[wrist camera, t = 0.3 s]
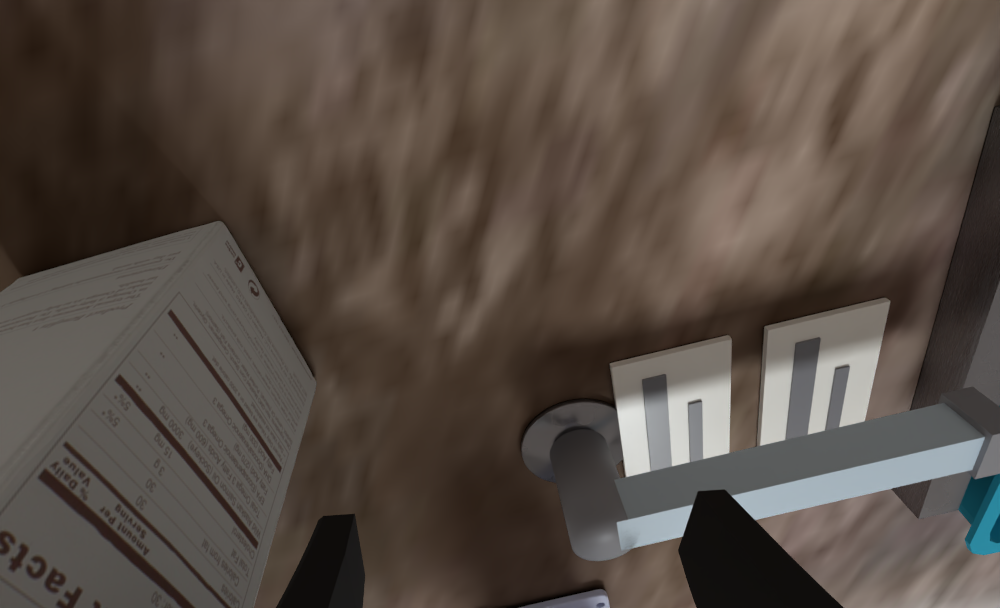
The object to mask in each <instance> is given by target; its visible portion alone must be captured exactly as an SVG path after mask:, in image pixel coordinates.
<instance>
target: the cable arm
mask: <svg viewBox="0 0 1000 608" xmlns="http://www.w3.org/2000/svg"><path fill="white" fill-rule="evenodd" d="M550 459H551V463H552V468H553V472H554V476H555V480H556V484H557V488H558V492H559V497H560V501H561V505H562V509H563V513H564V517H565V521H566V526H567V530H568V534H569V538H570V542H571V546H572V549H573V551H574V553H575V554H576V555H577V556H579V557H580V558H583V559H586V560H590V561H604V560H610V559H613V558H616V557H619V556H621V555H623V554H625V553H627V552H628V551H629V550H631V549H632V548H635V547H640V546H644V545H648V544H653V543H657V542H661V541H666V540H670V539H674V538H679V537H683V534H684V531H685V528H686V525H687V522H688V519H689V516H690V513H691V510H692V507H693V504H694V501H695V498H696V495H697V492H698V491H707V490H722V489H725V490H726V491H727V492H728V493H729V494H730V495H731V496H732V497H733V498H734V499H735V500H736V501H737V502H738V503H739V504H740V505H741V506H742V507H743V508H744V509H745V510H746V511H747V512H748V513H749V514H750V515H751V517H752V518H753V519H754V520H757V519H761V518H766V517H770V516H774V515H779V514H783V513H787V512H792V511H796V510H800V509H805V508H809V507H813V506H818V505H822V504H826V503H831V502H835V501H839V500H844V499H848V498H852V497H857V496H861V495H865V494H870V493H874V492H878V491H883V490H887V489H892V488H896V487H900V486H905V485H909V484H913V483H918V482H922V481H926V480H931V479H935V478H939V477H944V476H948V475H952V474H957V473H961V472H965V471H966V472H968V473H969V474H970V475H971V476H972V477H973V478H974V479H978V478H983V477H987V476H992V475H996V474H1000V407H999V406H998V405H997V404H995V403H994V402H993V401H991V400H990V399H989V398H987V397H986V396H985V395H983V394H982V393H981V392H979V391H978V390H977V389H975V388H974V387H973V386H972V387H968V388H964V389H960V390H955V391H951V392H947V393H942V394H941V398H940V401H939V404H937V405H933V406H928V407H924V408H920V409H915V410H911V411H907V412H903V413H898V414H894V415H890V416H885V417H881V418H877V419H873V420H868V421H864V422H860V423H856V424H851V425H847V426H843V427H838V428H834V429H830V430H826V431H821V432H817V433H813V434H808V435H804V436H800V437H796V438H791V439H787V440H783V441H779V442H774V443H770V444H766V445H761V446H757V447H753V448H749V449H744V450H740V451H736V452H731V453H727V454H723V455H719V456H714V457H710V458H706V459H701V460H697V461H693V462H689V463H684V464H680V465H676V466H672V467H667V468H663V469H659V470H654V471H650V472H646V473H642V474H637V475H633V476H629V477H624V478H620V476H619V474H618V471H617V468H616V466H615V463H614V460H613V458H612V455H611V452H610V450H609V447H608V444H607V442H606V439H605V438H604V437H603V436H602V435H601V434H600V433H598V432H596V431H593V430H586V429H582V430H575V431H571V432H568V433H566V434H564V435H562V436H561V437H560V438H558V439H557V440H556V441H555V442H554V444H553V445H552V447H551V449H550Z"/></svg>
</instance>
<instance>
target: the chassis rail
mask: <svg viewBox="0 0 1000 608" xmlns="http://www.w3.org/2000/svg"><path fill="white" fill-rule="evenodd" d="M972 386H973V387H974V388H975V389H977V390H978V391H979V392H981V393H982V394H983V395H985V396H986V397H987V398H989V399H990V400H991V401H993V402H994V403H995V404H997V405H998V406H1000V106H997V107H995V109H994V112H993V116H992V120H991V123H990V127H989V130H988V134H987V138H986V141H985V145H984V148H983V152H982V156H981V159H980V163H979V166H978V170H977V174H976V177H975V181H974V184H973V188H972V192H971V195H970V199H969V202H968V206H967V210H966V213H965V217H964V220H963V224H962V228H961V231H960V235H959V238H958V242H957V246H956V249H955V253H954V256H953V260H952V264H951V267H950V271H949V274H948V278H947V282H946V285H945V289H944V292H943V296H942V300H941V303H940V307H939V310H938V314H937V318H936V321H935V325H934V328H933V332H932V335H931V339H930V343H929V346H928V350H927V353H926V357H925V361H924V364H923V368H922V371H921V375H920V379H919V382H918V386H917V389H916V393H915V397H914V400H913V404H912V407H911V410H915V409H920V408H924V407H928V406H933V405H937V404H939V401H940V398H941V394H942V393H947V392H951V391H955V390H960V389H964V388H968V387H972ZM970 479H971V475H970V474H969V473H968V472H966V471H965V472H961V473H957V474H952V475H948V476H944V477H939V478H935V479H931V480H926V481H922V482H918V483H913V484H909V485H905V486H900V487H896V488H892V490H893V491H894V493H895V494H896V495H897V496H898V497H899V498H900V499H901V500H902V501H903V503H904V504H905V505H906V506H907V507H908V508H909V509H910V510H911V511H912V513H913V514H914V515H915V516H916V517H917V518H918V519H921V518H926V517H930V516H934V515H939V514H943V513H948V512H952V511H956V510H958V509H959V506H960V504H961V501H962V499H963V496H964V494H965V491H966V489H967V486H968V484H969V481H970Z"/></svg>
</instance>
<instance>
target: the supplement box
mask: <svg viewBox="0 0 1000 608" xmlns="http://www.w3.org/2000/svg"><path fill="white" fill-rule="evenodd" d="M316 384H317V383H316V380H315V379H314V377H313V376H312V373H311V371H310V370H309V368H308V366H307V364H306V362H305V360H304V359H303V357H302V355H301V353H300V352H299V350H298V348H297V347H296V345H295V343H294V341H293V339H292V338H291V336H290V334H289V333H288V331H287V329H286V328H285V326H284V324H283V323H282V321H281V319H280V317H279V315H278V314H277V312H276V310H275V308H274V307H273V305H272V303H271V302H270V300H269V298H268V296H267V295H266V293H265V291H264V290H263V288H262V286H261V284H260V282H259V281H258V279H257V278H256V276H255V274H254V272H253V271H252V269H251V267H250V266H249V264H248V262H247V260H246V258H245V257H244V255H243V254H242V252H241V251H240V249H239V247H238V245H237V243H236V242H235V240H234V238H233V237H232V235H231V234H230V232H229V230H228V229H227V227H226V225H225V224H224V223H223V222H221V221H216V222H213V223H209V224H206V225H202V226H198V227H194V228H190V229H187V230H183V231H179V232H176V233H172V234H169V235H165V236H162V237H158V238H155V239H151V240H148V241H145V242H141V243H138V244H134V245H131V246H127V247H124V248H121V249H117V250H114V251H110V252H107V253H104V254H100V255H97V256H93V257H90V258H86V259H83V260H80V261H76V262H73V263H69V264H66V265H63V266H59V267H56V268H52V269H49V270H46V271H42V272H39V273H35V274H32V275H29V276H25V277H21V278H18V279H17V280H16V281H15V282H14V283H13V284H11V285H10V286H8V287H7V288H6V289H4V290H3V291H2V292H0V608H254V604H255V601H256V597H257V593H258V590H259V586H260V583H261V579H262V576H263V572H264V569H265V565H266V562H267V558H268V554H269V550H270V547H271V543H272V540H273V536H274V533H275V529H276V526H277V522H278V519H279V516H280V512H281V509H282V505H283V502H284V498H285V495H286V491H287V488H288V484H289V481H290V477H291V473H292V470H293V467H294V464H295V460H296V456H297V452H298V449H299V446H300V442H301V439H302V436H303V432H304V429H305V425H306V422H307V418H308V414H309V411H310V407H311V404H312V400H313V397H314V393H315V389H316Z"/></svg>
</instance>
